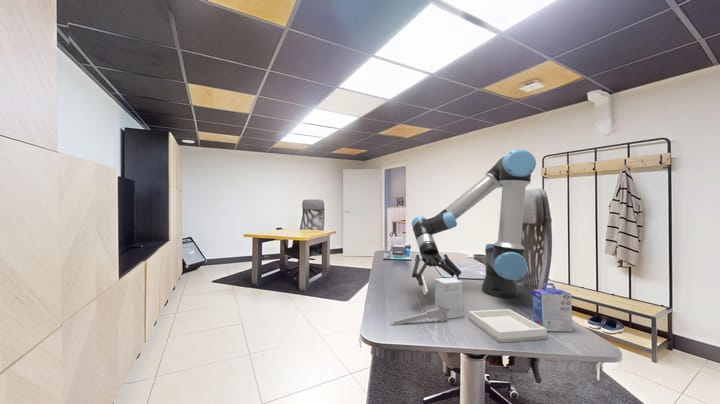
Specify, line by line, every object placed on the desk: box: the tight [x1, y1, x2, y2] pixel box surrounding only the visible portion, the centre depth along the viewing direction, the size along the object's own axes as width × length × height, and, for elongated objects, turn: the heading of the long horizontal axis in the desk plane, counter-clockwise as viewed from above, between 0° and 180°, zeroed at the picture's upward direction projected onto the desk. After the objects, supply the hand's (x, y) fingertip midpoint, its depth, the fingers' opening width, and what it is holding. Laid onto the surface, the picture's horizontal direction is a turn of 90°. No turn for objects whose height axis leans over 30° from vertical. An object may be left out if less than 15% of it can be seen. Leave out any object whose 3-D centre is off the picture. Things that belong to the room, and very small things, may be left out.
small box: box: [434, 277, 464, 320], centre depth 96 cm, size 8×6×13 cm
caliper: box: [390, 304, 448, 326], centre depth 89 cm, size 20×1×6 cm, turn 99°
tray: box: [468, 308, 548, 344], centre depth 85 cm, size 16×16×3 cm
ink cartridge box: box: [531, 282, 574, 333], centre depth 86 cm, size 10×6×14 cm, turn 89°
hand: (443, 292), depth 98 cm, fingers open, 13 cm apart
